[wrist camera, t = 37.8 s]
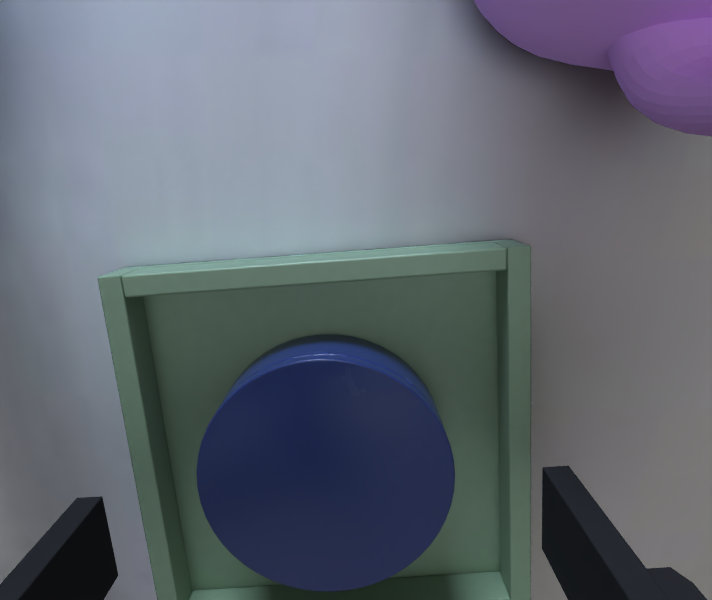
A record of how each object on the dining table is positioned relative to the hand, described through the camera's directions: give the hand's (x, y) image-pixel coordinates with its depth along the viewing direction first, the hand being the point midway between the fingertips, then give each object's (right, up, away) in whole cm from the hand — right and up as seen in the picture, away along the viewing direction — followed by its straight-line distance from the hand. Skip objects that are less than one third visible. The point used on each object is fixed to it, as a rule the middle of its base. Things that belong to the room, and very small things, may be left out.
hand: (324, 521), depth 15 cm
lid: (0, 0, +3) cm, 3 cm away
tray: (0, +1, +6) cm, 6 cm away
